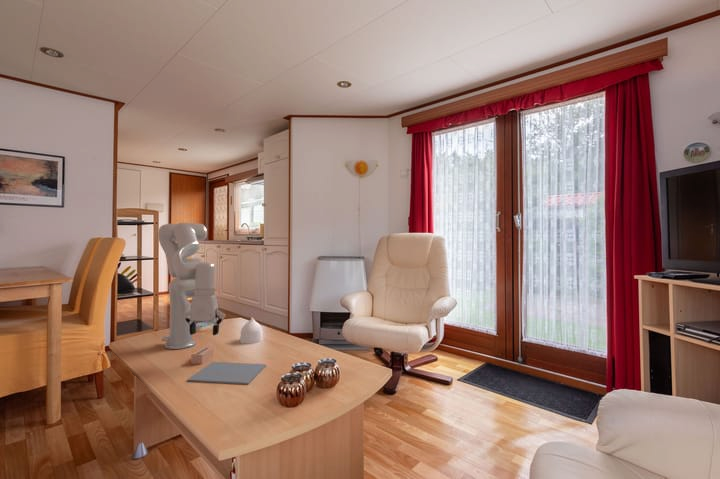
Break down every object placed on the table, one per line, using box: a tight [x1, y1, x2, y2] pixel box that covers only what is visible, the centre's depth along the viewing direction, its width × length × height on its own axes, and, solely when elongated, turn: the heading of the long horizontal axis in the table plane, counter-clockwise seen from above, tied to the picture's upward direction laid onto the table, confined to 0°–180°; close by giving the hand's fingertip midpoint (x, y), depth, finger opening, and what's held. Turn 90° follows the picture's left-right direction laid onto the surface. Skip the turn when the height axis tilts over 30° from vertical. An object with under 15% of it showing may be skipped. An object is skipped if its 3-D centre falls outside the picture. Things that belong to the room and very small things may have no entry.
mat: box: [186, 361, 267, 386], centre depth 126 cm, size 22×18×1 cm
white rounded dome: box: [239, 316, 264, 344], centre depth 169 cm, size 11×11×12 cm
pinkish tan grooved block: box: [190, 346, 214, 365], centre depth 139 cm, size 4×9×4 cm, turn 177°
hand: (204, 334), depth 139 cm, fingers open, 9 cm apart
